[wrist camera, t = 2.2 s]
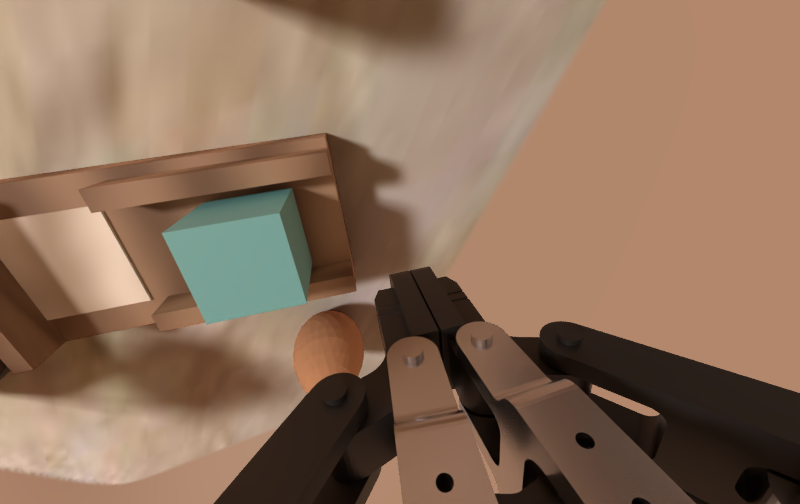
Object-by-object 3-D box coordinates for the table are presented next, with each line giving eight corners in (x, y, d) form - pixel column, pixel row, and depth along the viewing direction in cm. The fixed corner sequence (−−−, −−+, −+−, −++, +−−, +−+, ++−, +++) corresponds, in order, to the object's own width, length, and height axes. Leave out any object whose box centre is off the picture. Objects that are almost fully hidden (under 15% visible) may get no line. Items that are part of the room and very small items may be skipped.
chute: (325, 132, 21) (323, 140, 16) (353, 263, 25) (358, 301, 20) (-14, 181, 19) (-137, 208, 14) (82, 316, 23) (14, 374, 18)
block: (292, 187, 19) (279, 213, 14) (312, 261, 21) (306, 303, 16) (203, 202, 18) (161, 233, 14) (234, 276, 20) (206, 324, 16)
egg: (286, 312, 26) (269, 388, 19) (342, 285, 26) (346, 351, 19) (318, 353, 28) (313, 434, 21) (369, 328, 28) (381, 401, 21)
